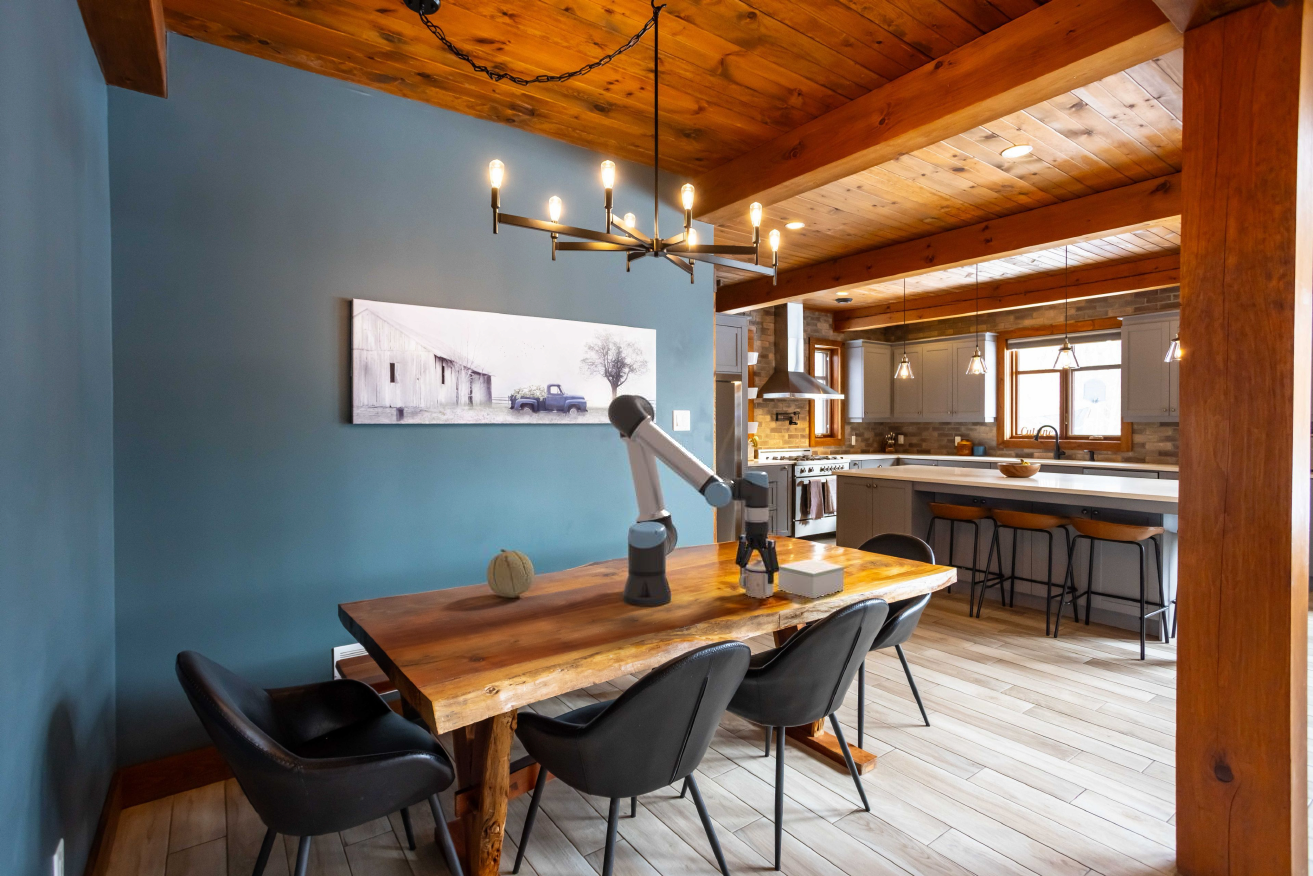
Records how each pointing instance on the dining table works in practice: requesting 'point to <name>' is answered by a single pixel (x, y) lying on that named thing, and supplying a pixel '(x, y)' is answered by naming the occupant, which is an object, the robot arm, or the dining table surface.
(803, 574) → the stand
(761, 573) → the teacup with lid
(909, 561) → the dining table surface
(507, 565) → the cantaloupe
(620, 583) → the dining table surface
